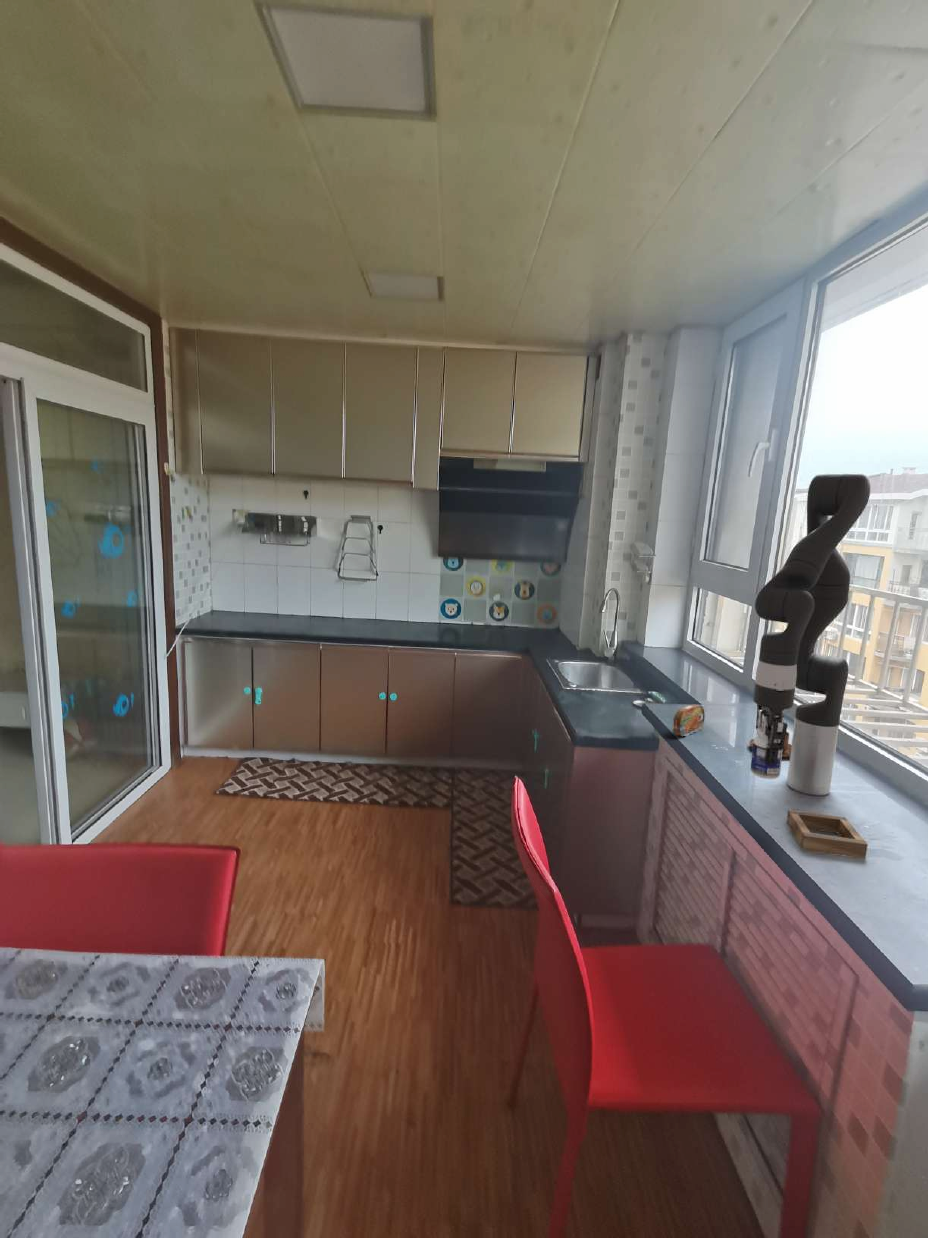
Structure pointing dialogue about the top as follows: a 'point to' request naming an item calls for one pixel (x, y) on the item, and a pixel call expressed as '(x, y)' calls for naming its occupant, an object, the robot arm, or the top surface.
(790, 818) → the socket block
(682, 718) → the tin
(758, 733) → the pill bottle
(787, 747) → the cup and saucer
